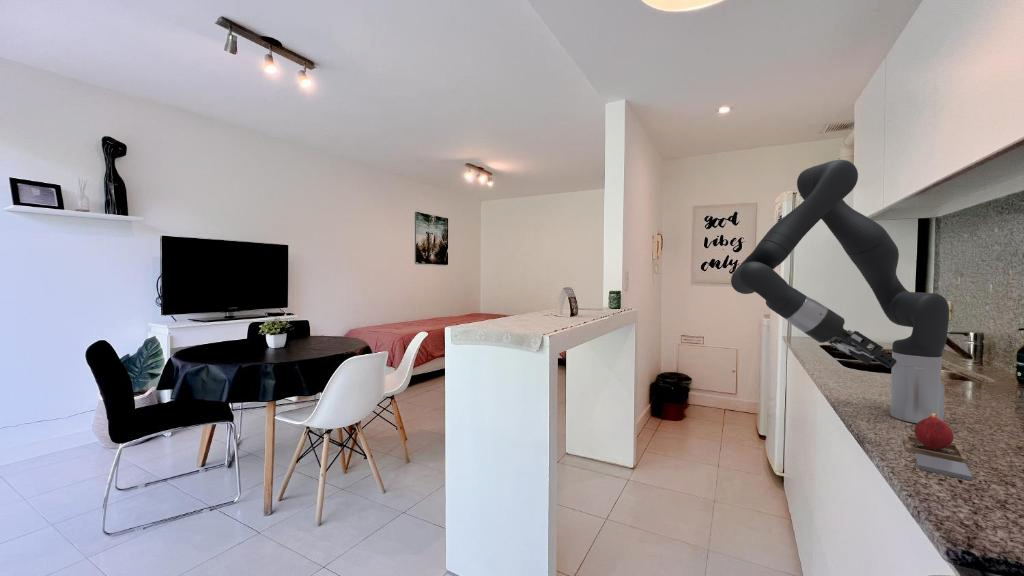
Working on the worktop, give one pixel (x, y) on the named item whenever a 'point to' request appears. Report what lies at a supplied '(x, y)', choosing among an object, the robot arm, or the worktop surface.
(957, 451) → the square wooden frame
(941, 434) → the onion
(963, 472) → the coaster
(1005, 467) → the worktop surface
